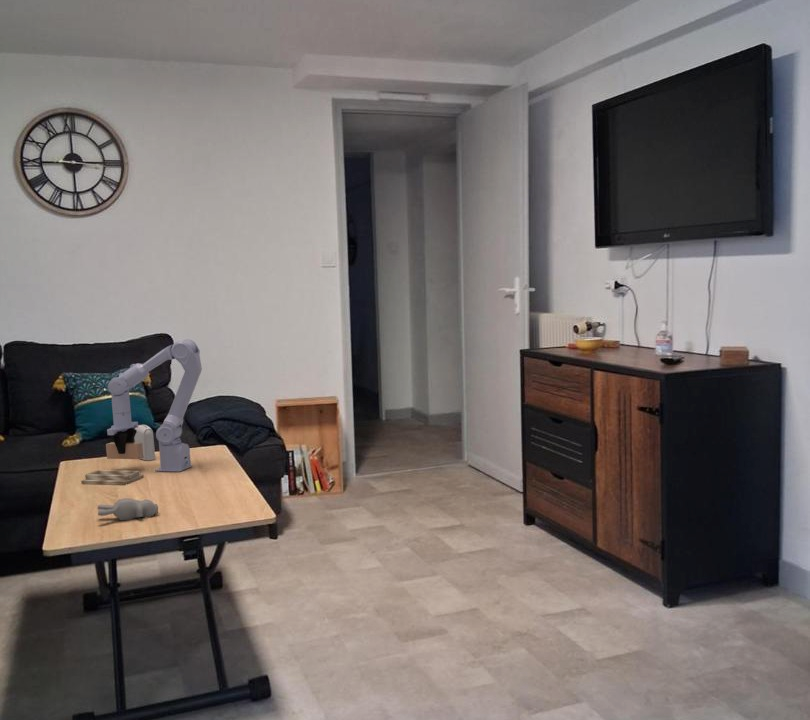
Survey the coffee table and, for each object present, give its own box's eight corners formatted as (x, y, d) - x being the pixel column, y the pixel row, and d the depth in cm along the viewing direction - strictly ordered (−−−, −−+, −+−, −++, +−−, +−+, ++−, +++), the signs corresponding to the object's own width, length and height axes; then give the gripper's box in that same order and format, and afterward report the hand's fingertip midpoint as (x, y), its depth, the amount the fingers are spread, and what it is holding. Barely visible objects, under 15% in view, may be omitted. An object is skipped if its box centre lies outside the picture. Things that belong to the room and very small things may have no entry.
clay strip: (143, 457, 274) (142, 442, 274) (138, 459, 271) (136, 444, 271) (112, 456, 277) (111, 442, 277) (106, 458, 274) (105, 444, 274)
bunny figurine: (159, 503, 214) (98, 504, 209) (158, 522, 215) (97, 524, 209) (156, 495, 223) (97, 496, 217) (155, 514, 223) (96, 515, 218)
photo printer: (134, 457, 297) (131, 424, 296) (145, 455, 299) (143, 422, 298) (145, 461, 289) (142, 427, 288) (156, 459, 292) (154, 425, 290)
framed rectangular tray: (143, 477, 264) (143, 469, 263) (125, 485, 254) (124, 477, 254) (101, 476, 268) (100, 468, 268) (81, 483, 258) (80, 476, 258)
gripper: (124, 409, 281) (127, 447, 282) (97, 416, 267) (101, 457, 268) (142, 409, 279) (145, 448, 280) (116, 416, 265) (119, 457, 266)
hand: (125, 452), depth 274 cm, fingers closed on clay strip, 3 cm apart
